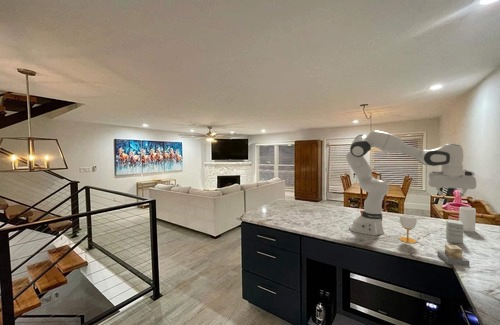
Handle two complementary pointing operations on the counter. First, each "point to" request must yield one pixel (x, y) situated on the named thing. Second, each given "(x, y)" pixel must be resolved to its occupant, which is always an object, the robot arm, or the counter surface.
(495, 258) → the counter surface
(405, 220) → the cup
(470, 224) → the cup
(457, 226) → the supplement box
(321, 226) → the counter surface
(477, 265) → the counter surface
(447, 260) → the plate
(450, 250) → the maple cube
